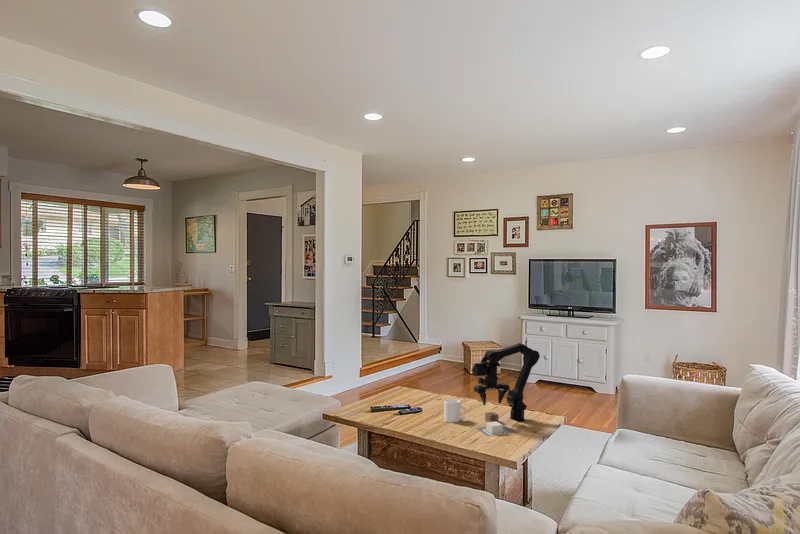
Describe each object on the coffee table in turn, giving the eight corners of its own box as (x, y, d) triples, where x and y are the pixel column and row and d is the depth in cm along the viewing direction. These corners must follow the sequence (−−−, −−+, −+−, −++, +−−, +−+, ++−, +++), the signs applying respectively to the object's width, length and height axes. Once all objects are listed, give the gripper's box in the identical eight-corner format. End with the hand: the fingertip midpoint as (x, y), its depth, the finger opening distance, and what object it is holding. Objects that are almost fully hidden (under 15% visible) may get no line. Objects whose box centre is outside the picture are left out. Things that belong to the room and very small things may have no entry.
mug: (462, 425, 247) (462, 405, 247) (441, 421, 253) (441, 401, 253) (468, 421, 254) (468, 401, 254) (448, 417, 260) (448, 398, 260)
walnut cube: (493, 421, 254) (493, 411, 254) (498, 424, 249) (498, 414, 249) (485, 422, 252) (485, 412, 252) (490, 425, 247) (490, 415, 248)
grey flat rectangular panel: (502, 425, 246) (502, 424, 246) (516, 433, 234) (516, 432, 234) (475, 429, 241) (475, 427, 241) (488, 437, 229) (488, 435, 229)
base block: (496, 429, 239) (496, 421, 239) (502, 433, 233) (502, 425, 233) (485, 430, 237) (485, 422, 237) (492, 434, 231) (492, 426, 231)
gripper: (498, 370, 262) (499, 398, 262) (468, 373, 255) (469, 402, 255) (510, 374, 251) (510, 404, 251) (479, 377, 245) (479, 407, 245)
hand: (491, 404), depth 251 cm, fingers open, 9 cm apart
